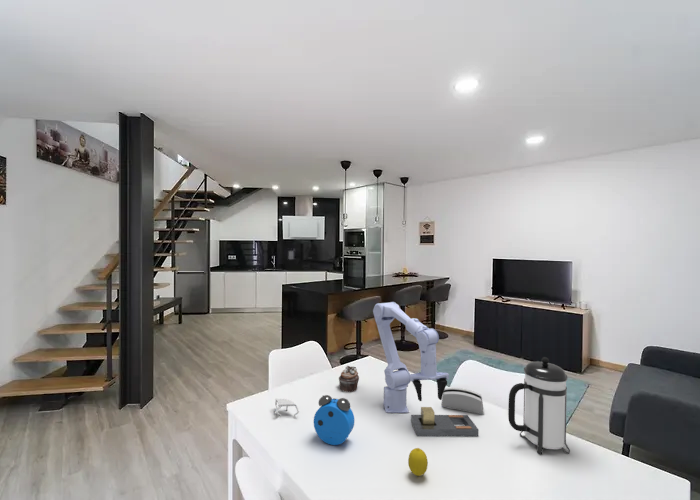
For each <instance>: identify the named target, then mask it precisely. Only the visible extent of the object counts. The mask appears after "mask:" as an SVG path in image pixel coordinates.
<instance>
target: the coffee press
mask: <svg viewBox="0 0 700 500" xmlns="http://www.w3.org/2000/svg"><path fill="white" fill-rule="evenodd" d="M523 372H524V381H523V382H524V383H522V382H521V383H515V384H514V385H513V386H512V387H511V388H510V390H509V392H508V393H509V394H508V409H507V410H508V412H507V415H508V421H509V425H510V427H512V428H513V429H514V430H515V431H518V432H520V433H519V437H520V438H522V439H524V438H526V439H528V441H529V442H531V443H532V444H533V445H536V446H537V448H536V452H537V454H539V455H542V456H543V451H544V449H548V450H560V449H561V450H562V451H563V452H564V454H567V455H570V452H571V449H570V447H569V446H568V444H567V403H568V401H567V400H568V399H567V397H568V396H567V394H568V393H567V391H568V388H567V382H568V381H567V380H568V375H567V373H566V372H565V370H564V369H563V368H562V367H561V366H558V365H557V364H554V363H550V359H549V358H548V357H546V356H543V357H542V358H541V360H540V361H531V362H528V363H526V365H525V367H524V368H523ZM521 390H523V424H522V425H521V424H517V423H516V419H515V418H516V396H517V393H518V392H519V391H521ZM522 433H524V435H522ZM564 446H565V447H566V449H567V450H566V449H565V448H564Z"/></svg>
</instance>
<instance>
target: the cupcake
mask: <svg viewBox="0 0 700 500" xmlns="http://www.w3.org/2000/svg"><path fill="white" fill-rule="evenodd" d="M357 370H358V369H357V367H356V366H351V365H350V366H349V365H347V366H345V369H343V370H342V371H341V372H340V376H339V377H338V382H339V388H340V391H341V392H346V393H352V392H356V391H357V389H358V384H359V382H360V381H359V380H360V377H359V372H358V371H357Z"/></svg>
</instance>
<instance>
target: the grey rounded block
mask: <svg viewBox="0 0 700 500" xmlns="http://www.w3.org/2000/svg"><path fill="white" fill-rule="evenodd" d="M440 404H441V407H443V408H448V409H453V410H459V411H463V412H468V413H469V412H470V413H473V414H479V415H484V413H485V412H484V410H485V409H484V404H483V397H482V394H481V393H479V392H475V391H474V390H471V389H467V388H463V387H445V389H444V392H443V395H442V400H441V403H440Z"/></svg>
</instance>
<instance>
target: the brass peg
mask: <svg viewBox="0 0 700 500" xmlns="http://www.w3.org/2000/svg"><path fill="white" fill-rule="evenodd" d="M420 415H421V425H422V426H434V415H436V413H435V411H434V409H433V407H432V406H420Z"/></svg>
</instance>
